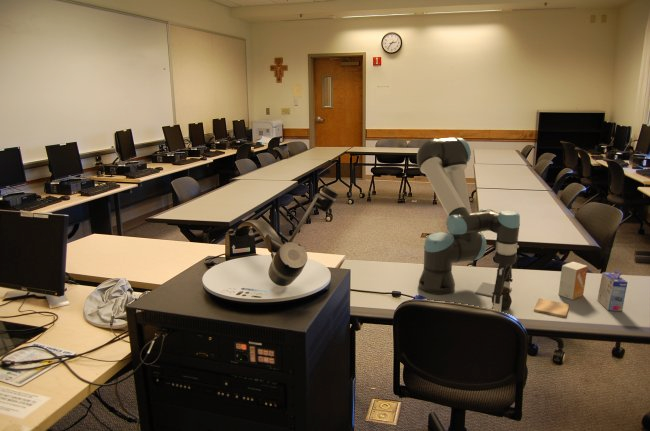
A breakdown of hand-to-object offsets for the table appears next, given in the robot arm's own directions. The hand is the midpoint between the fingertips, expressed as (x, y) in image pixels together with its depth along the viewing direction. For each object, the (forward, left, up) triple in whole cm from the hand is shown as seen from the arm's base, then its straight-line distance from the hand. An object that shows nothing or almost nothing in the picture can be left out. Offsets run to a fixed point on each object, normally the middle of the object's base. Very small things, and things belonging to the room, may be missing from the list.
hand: (501, 303), depth 187 cm
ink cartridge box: (+36, +23, -2) cm, 43 cm away
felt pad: (-6, +14, -2) cm, 15 cm away
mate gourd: (0, 0, -2) cm, 2 cm away
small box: (+22, +26, -2) cm, 34 cm away
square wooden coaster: (+17, +9, -2) cm, 19 cm away
